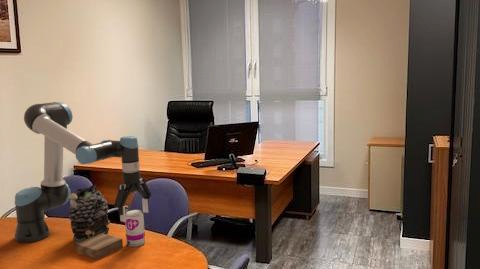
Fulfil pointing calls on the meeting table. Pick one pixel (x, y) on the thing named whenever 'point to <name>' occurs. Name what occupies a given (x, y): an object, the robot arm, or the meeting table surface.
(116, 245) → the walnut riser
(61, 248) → the meeting table surface
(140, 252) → the meeting table surface
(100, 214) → the decorative house
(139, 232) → the supplement can
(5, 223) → the meeting table surface
